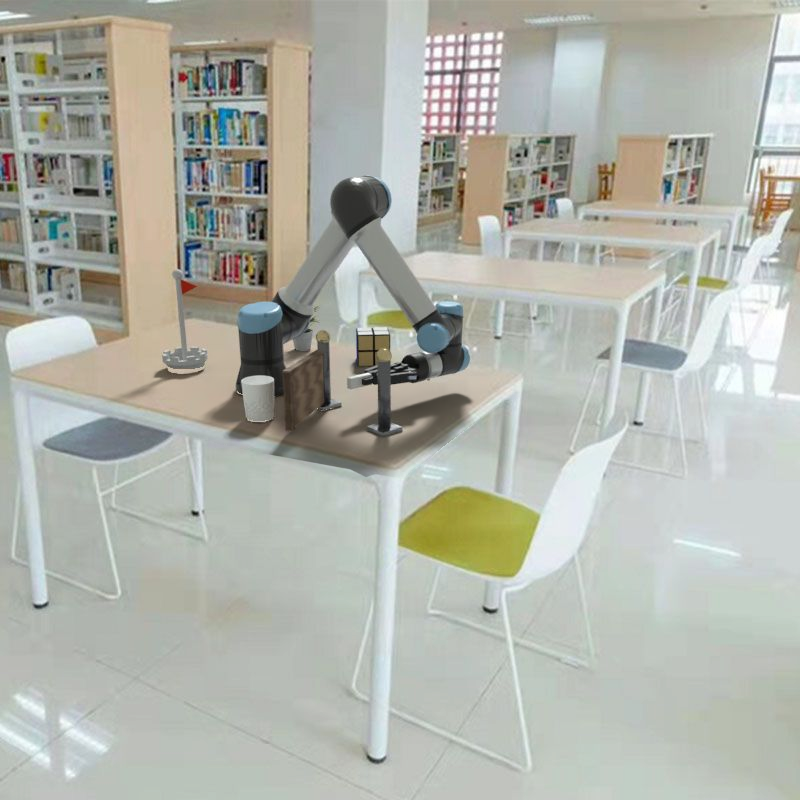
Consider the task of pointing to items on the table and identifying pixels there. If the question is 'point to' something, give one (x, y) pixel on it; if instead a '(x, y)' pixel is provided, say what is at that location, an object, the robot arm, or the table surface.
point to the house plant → (305, 337)
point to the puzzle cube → (371, 344)
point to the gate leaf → (303, 388)
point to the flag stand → (183, 335)
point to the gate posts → (384, 387)
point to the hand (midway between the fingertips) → (349, 383)
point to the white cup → (258, 397)
